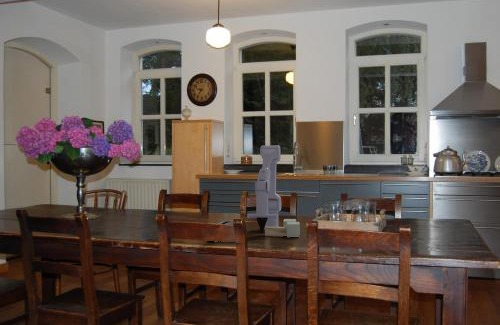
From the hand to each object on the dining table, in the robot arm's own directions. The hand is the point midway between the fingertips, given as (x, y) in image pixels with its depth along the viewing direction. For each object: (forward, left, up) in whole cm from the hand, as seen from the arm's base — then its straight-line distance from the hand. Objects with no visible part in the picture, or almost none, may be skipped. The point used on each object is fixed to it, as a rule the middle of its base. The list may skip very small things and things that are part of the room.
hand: (262, 233), depth 235 cm
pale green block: (-10, +13, -1) cm, 16 cm away
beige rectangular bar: (-1, +9, -1) cm, 9 cm away
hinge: (+14, -17, -2) cm, 22 cm away
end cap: (0, +15, -1) cm, 15 cm away
